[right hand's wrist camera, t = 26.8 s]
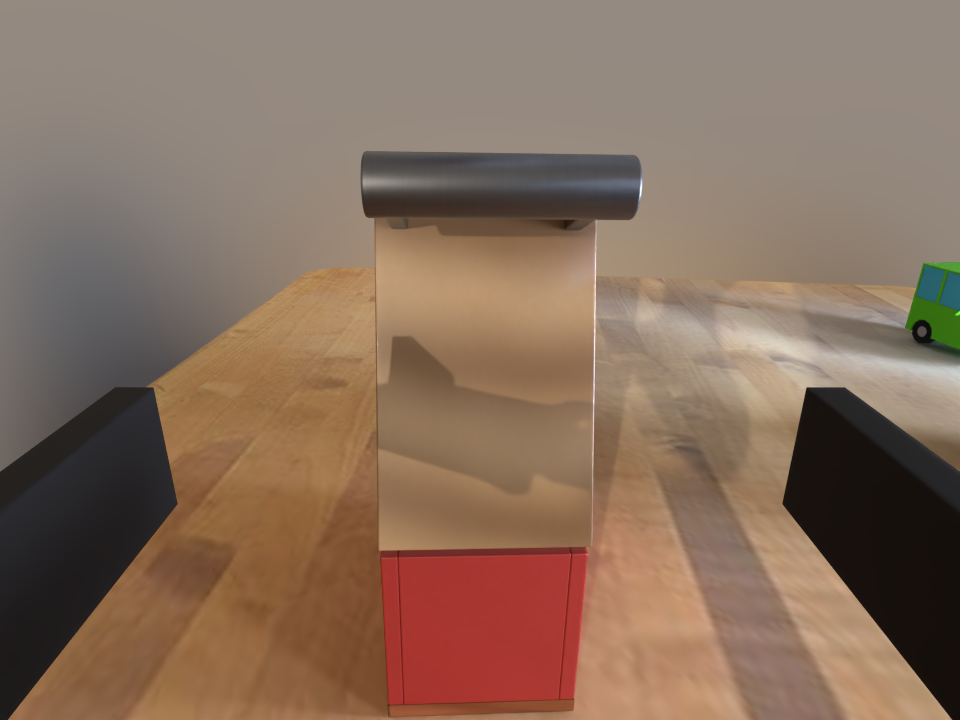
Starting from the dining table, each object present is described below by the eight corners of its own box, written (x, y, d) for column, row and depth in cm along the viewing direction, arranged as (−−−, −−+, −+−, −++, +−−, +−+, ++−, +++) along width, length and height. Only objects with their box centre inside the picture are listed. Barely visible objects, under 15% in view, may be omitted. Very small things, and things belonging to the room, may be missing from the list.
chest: (407, 521, 44) (403, 401, 41) (532, 518, 45) (539, 400, 41) (388, 716, 30) (379, 557, 26) (573, 710, 30) (588, 554, 27)
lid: (376, 162, 26) (340, 83, 17) (591, 165, 26) (662, 90, 18) (380, 541, 27) (349, 648, 18) (586, 538, 27) (651, 640, 19)
